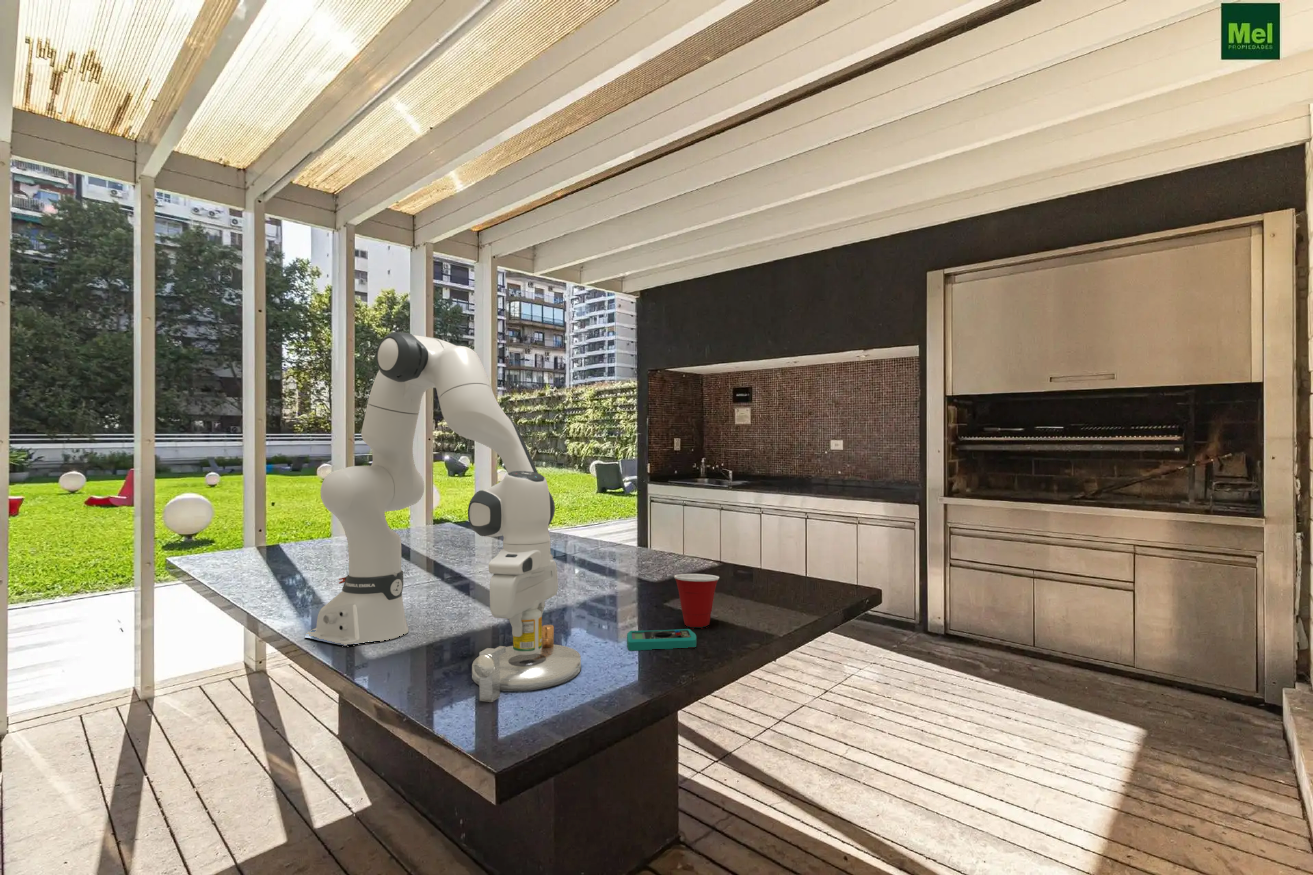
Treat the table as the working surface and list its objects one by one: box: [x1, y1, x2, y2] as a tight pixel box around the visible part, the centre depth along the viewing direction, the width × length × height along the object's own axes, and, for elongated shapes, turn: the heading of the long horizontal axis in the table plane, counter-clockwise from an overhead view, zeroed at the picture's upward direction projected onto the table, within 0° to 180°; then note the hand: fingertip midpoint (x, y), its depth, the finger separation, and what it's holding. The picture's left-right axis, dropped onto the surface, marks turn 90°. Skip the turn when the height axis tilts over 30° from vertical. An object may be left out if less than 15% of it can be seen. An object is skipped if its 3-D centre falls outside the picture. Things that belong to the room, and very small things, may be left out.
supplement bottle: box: [512, 600, 543, 655], centre depth 116 cm, size 5×5×10 cm
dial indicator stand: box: [473, 645, 507, 703], centre depth 104 cm, size 4×6×8 cm, turn 164°
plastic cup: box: [673, 573, 720, 627], centre depth 146 cm, size 11×11×12 cm
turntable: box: [471, 624, 582, 692], centre depth 116 cm, size 20×20×6 cm
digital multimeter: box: [626, 628, 697, 652], centre depth 131 cm, size 7×15×3 cm, turn 95°
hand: (527, 630), depth 116 cm, fingers closed on supplement bottle, 5 cm apart
